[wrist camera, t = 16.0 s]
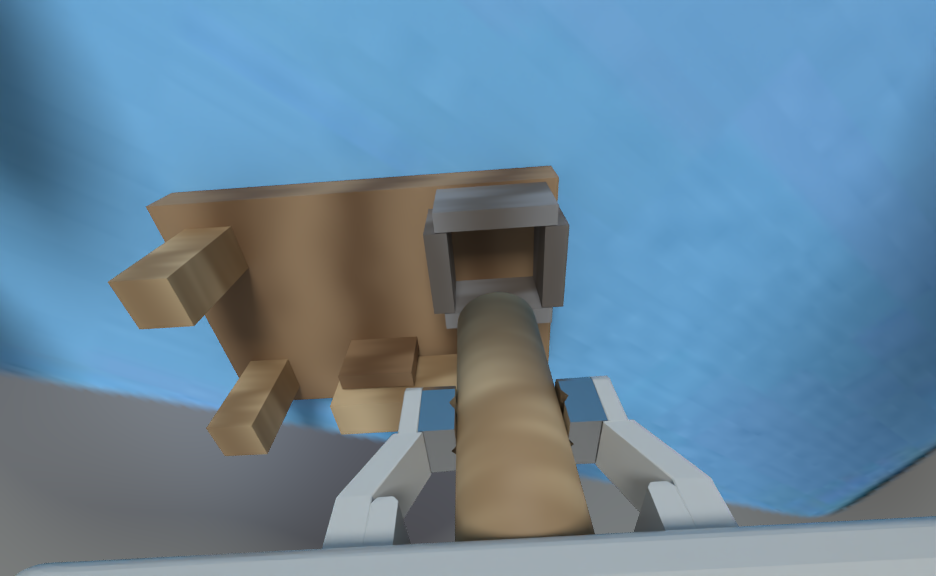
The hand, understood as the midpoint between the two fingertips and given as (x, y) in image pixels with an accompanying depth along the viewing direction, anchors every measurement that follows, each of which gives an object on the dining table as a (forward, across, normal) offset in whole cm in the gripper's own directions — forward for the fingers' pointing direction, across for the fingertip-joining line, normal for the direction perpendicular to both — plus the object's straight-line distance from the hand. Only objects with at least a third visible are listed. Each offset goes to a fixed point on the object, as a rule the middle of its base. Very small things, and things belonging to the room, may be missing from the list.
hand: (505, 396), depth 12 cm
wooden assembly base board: (+12, +6, +4) cm, 14 cm away
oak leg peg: (+4, 0, 0) cm, 4 cm away
